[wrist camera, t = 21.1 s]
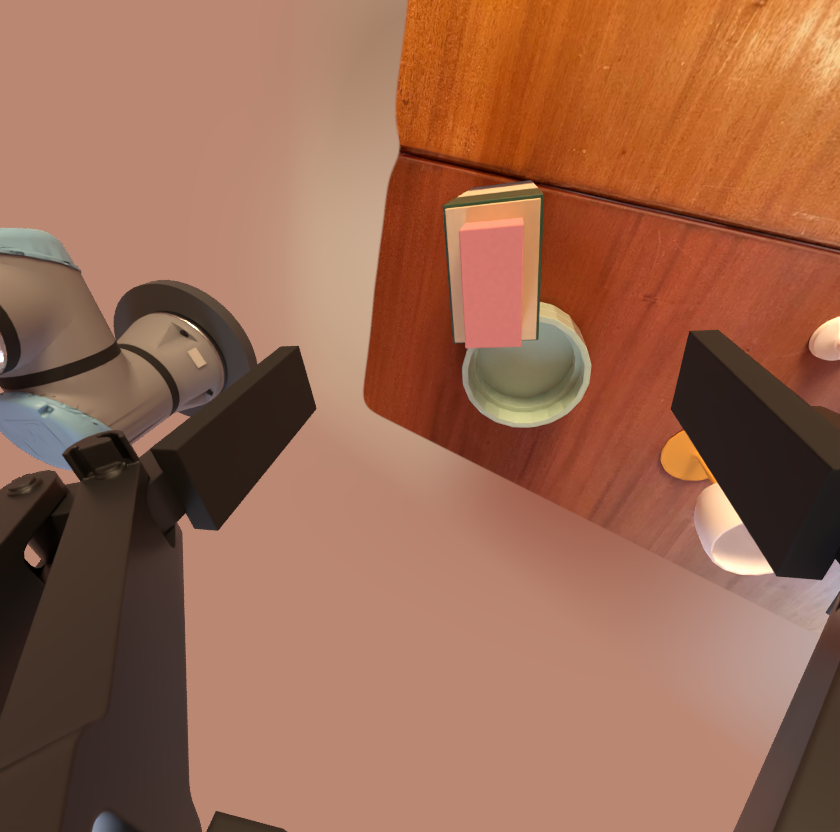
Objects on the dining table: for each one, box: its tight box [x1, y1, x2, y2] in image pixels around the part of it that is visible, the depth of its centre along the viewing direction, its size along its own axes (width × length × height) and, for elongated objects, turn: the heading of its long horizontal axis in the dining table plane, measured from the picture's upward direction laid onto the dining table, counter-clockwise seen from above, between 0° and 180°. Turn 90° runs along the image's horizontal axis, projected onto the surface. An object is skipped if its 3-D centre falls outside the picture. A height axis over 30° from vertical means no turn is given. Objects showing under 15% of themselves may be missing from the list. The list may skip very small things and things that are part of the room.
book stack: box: [443, 180, 544, 343], centre depth 35 cm, size 6×9×22 cm, turn 7°
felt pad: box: [445, 198, 541, 342], centre depth 26 cm, size 6×9×1 cm, turn 7°
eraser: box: [459, 218, 524, 348], centre depth 25 cm, size 7×4×3 cm, turn 6°
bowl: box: [462, 302, 591, 427], centre depth 49 cm, size 14×14×6 cm
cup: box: [660, 431, 774, 575], centre depth 47 cm, size 9×9×16 cm
